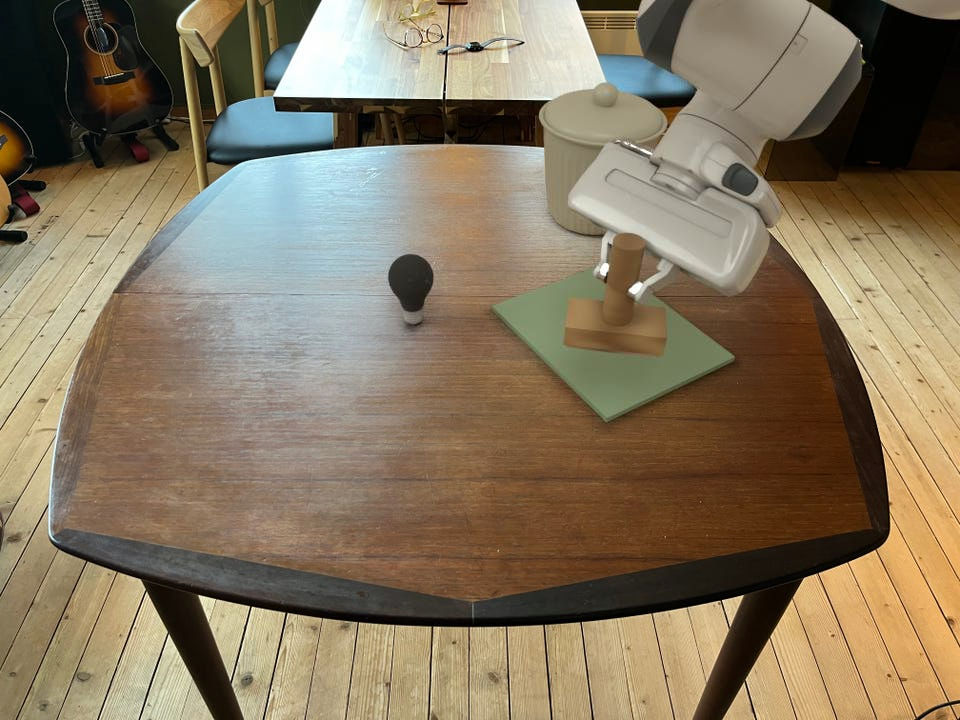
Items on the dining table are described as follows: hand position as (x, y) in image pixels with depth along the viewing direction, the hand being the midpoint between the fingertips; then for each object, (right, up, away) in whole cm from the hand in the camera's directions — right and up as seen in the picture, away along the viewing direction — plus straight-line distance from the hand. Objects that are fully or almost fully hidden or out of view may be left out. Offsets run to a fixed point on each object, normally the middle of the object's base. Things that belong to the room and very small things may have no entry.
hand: (617, 290), depth 72 cm
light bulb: (-22, -2, +24) cm, 32 cm away
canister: (+4, +15, +44) cm, 46 cm away
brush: (0, -5, +5) cm, 7 cm away
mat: (+3, -4, +22) cm, 22 cm away
